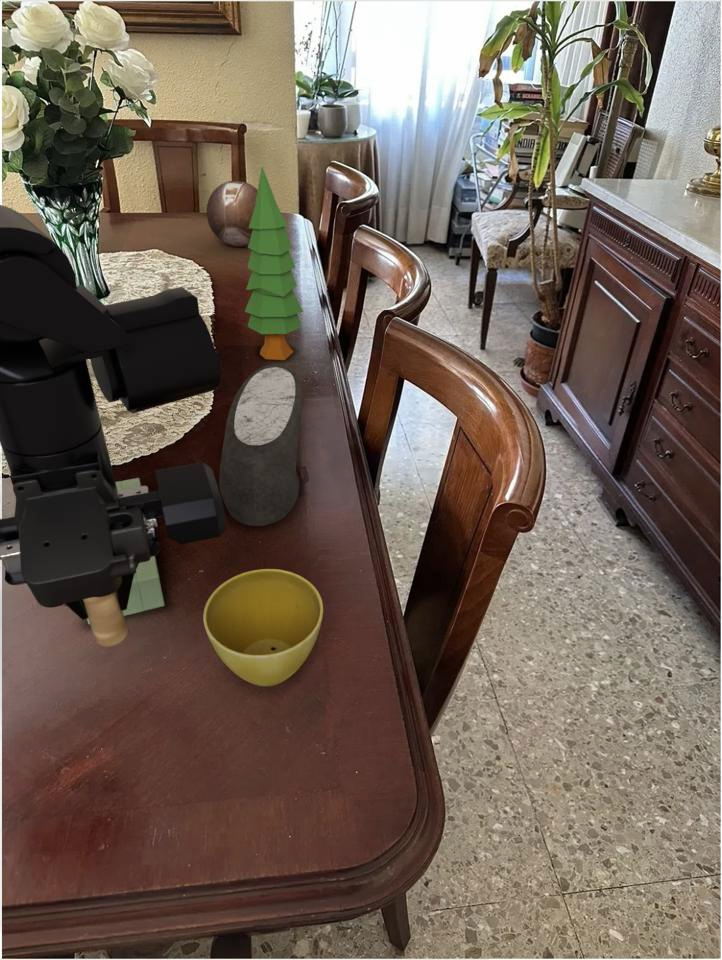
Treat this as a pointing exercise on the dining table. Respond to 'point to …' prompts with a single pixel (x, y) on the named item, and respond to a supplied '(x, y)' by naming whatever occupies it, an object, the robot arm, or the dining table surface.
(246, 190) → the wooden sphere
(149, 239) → the dining table surface
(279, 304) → the decorative tree
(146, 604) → the peg board
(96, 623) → the peg
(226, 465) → the grey stone cylinder
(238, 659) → the flower pot
